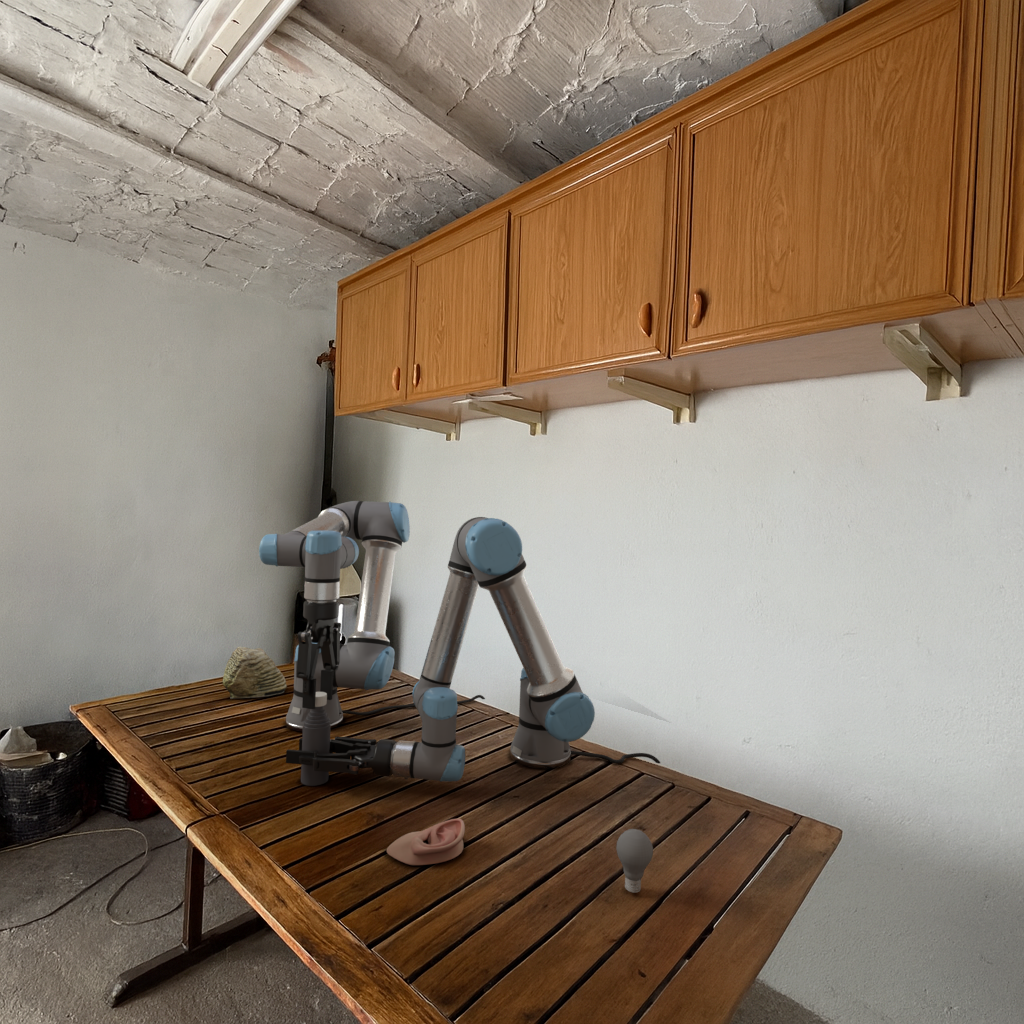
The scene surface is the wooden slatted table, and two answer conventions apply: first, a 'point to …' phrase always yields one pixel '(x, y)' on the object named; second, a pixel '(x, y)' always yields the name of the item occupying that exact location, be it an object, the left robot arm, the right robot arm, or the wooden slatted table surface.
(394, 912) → the wooden slatted table surface
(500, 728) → the wooden slatted table surface
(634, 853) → the light bulb
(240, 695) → the fossil
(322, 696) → the cap
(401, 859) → the anatomical model
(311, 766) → the bottle
